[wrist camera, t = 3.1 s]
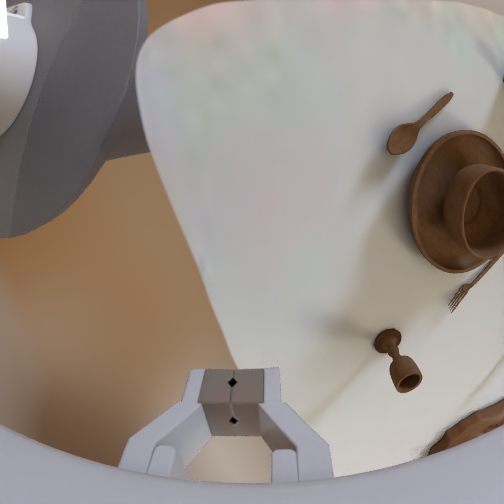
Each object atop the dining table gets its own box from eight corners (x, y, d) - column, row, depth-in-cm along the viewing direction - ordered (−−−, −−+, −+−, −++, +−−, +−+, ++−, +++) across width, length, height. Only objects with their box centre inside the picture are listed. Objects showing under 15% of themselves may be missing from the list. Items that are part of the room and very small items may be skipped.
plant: (411, 476, 39) (424, 519, 28) (446, 421, 32) (472, 477, 21) (486, 445, 38) (503, 480, 27) (527, 385, 31) (554, 424, 20)
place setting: (521, 234, 21) (558, 255, 16) (384, 359, 26) (403, 401, 21) (452, 77, 17) (497, 69, 11) (269, 231, 22) (272, 263, 16)
